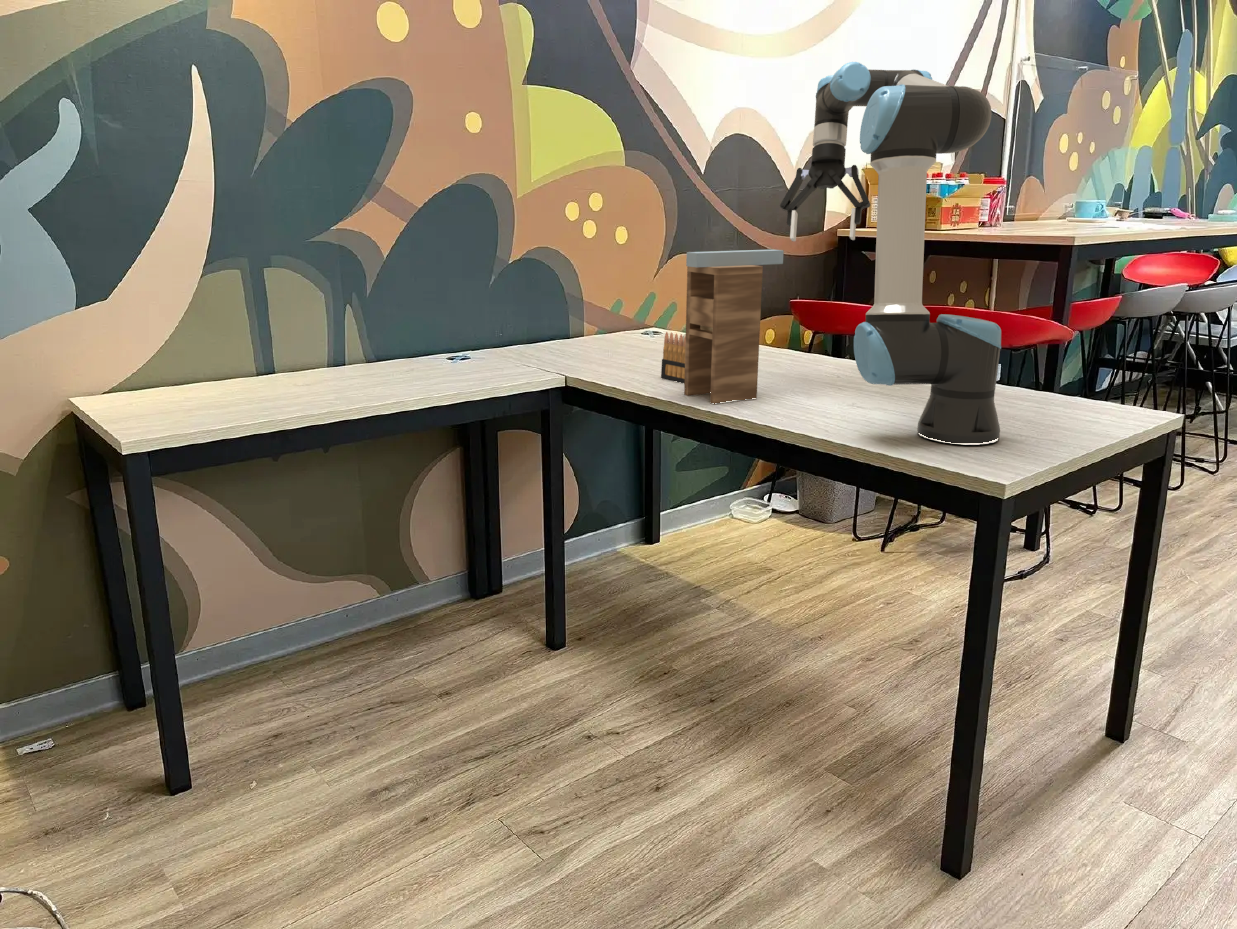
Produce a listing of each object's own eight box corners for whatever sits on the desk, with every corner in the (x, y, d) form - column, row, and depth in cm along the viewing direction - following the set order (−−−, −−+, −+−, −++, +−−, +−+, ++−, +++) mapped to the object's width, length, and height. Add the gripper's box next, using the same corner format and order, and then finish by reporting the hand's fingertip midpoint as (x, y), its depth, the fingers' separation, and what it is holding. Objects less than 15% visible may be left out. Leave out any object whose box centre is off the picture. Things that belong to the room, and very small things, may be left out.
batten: (782, 263, 214) (783, 250, 213) (696, 267, 202) (696, 253, 201) (771, 262, 217) (772, 249, 216) (686, 266, 206) (686, 252, 205)
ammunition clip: (695, 384, 231) (696, 335, 228) (689, 384, 230) (690, 336, 227) (666, 377, 239) (667, 330, 236) (660, 378, 238) (661, 331, 235)
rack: (756, 398, 215) (763, 255, 205) (714, 404, 209) (719, 256, 200) (725, 389, 225) (730, 252, 215) (684, 394, 219) (687, 253, 210)
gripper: (887, 149, 213) (880, 241, 212) (779, 155, 222) (772, 244, 222) (882, 137, 206) (875, 233, 206) (772, 144, 216) (764, 236, 215)
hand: (822, 239), depth 214 cm, fingers open, 13 cm apart
